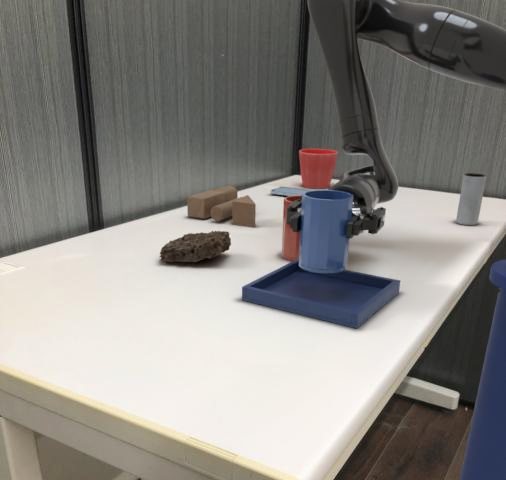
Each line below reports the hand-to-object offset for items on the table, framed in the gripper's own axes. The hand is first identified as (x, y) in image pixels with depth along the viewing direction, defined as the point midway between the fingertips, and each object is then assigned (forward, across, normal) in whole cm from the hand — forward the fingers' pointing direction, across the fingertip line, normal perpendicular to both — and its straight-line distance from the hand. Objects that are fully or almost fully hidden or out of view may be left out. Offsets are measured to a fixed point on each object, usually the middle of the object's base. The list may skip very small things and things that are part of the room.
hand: (321, 227), depth 77 cm
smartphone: (-72, -24, +11) cm, 77 cm away
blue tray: (-2, 0, +11) cm, 11 cm away
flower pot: (-88, -24, +11) cm, 92 cm away
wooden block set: (-45, -31, +11) cm, 56 cm away
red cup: (-20, -8, +11) cm, 24 cm away
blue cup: (-2, 0, +6) cm, 6 cm away
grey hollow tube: (-59, +18, +11) cm, 62 cm away
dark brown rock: (-11, -24, +11) cm, 29 cm away
